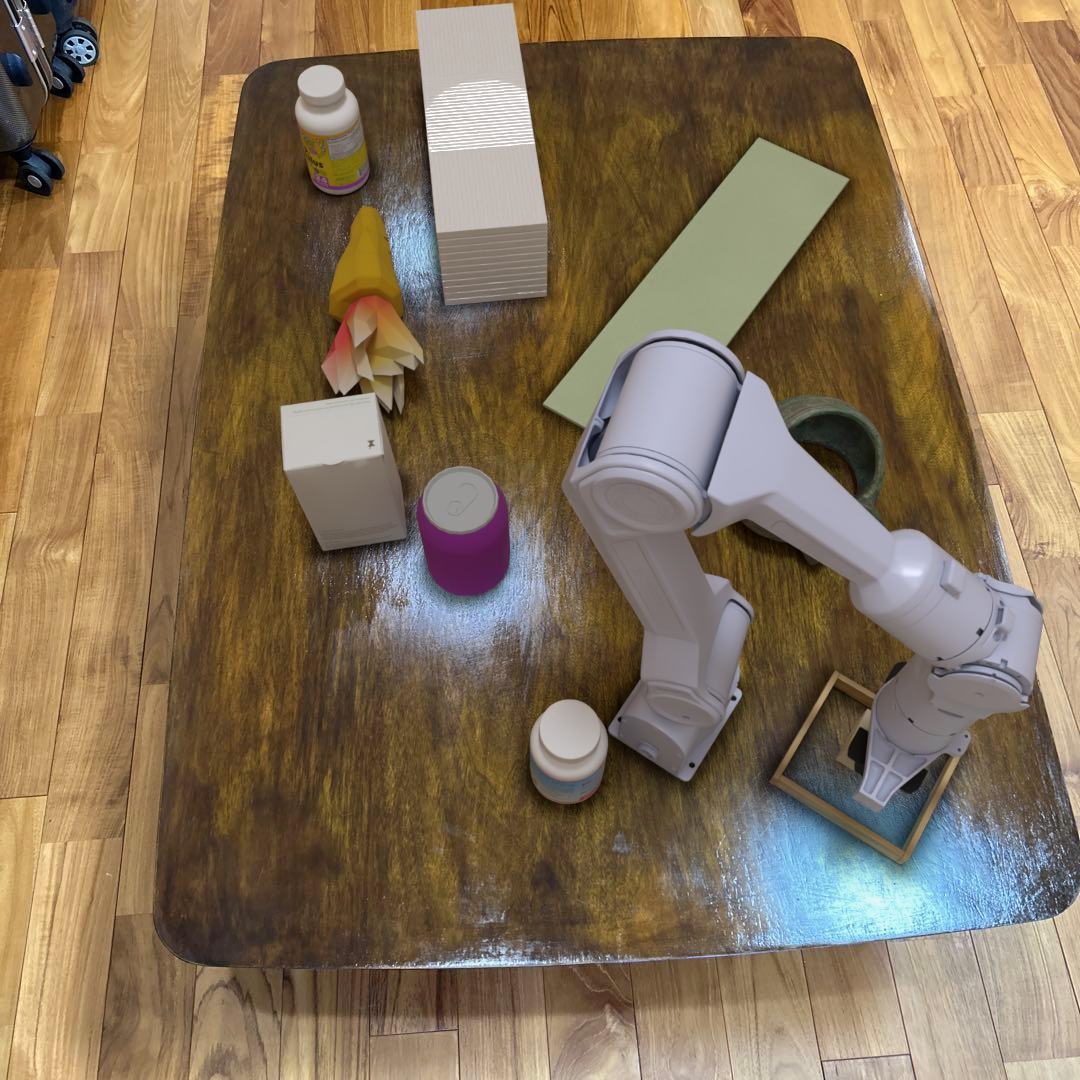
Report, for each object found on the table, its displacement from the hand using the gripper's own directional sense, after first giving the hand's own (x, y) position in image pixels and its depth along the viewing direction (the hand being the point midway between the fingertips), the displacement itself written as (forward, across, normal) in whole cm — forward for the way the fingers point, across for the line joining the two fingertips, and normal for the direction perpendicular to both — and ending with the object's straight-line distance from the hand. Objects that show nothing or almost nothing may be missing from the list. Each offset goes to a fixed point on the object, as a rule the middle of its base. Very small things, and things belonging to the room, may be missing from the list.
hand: (879, 751), depth 86 cm
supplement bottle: (+5, +28, +78) cm, 83 cm away
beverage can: (+5, -3, +38) cm, 39 cm away
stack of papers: (+5, +35, +64) cm, 73 cm away
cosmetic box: (+5, -5, +49) cm, 50 cm away
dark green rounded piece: (+5, +20, +17) cm, 26 cm away
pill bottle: (+5, -14, +20) cm, 25 cm away
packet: (+2, 0, 0) cm, 2 cm away
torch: (+5, +14, +62) cm, 64 cm away
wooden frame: (+5, 0, 0) cm, 5 cm away
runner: (+5, +37, +37) cm, 52 cm away
